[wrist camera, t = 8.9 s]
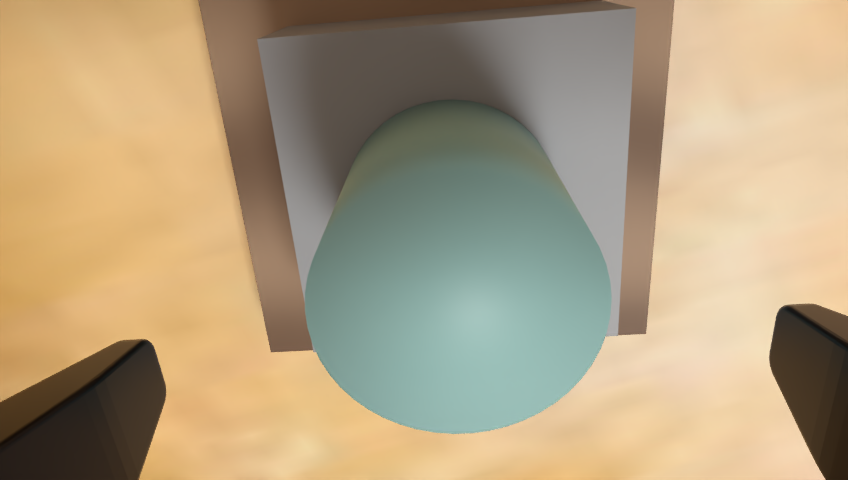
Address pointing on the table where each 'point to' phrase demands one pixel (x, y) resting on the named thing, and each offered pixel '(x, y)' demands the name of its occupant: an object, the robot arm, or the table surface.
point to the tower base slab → (326, 3)
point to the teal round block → (456, 274)
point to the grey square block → (461, 80)
